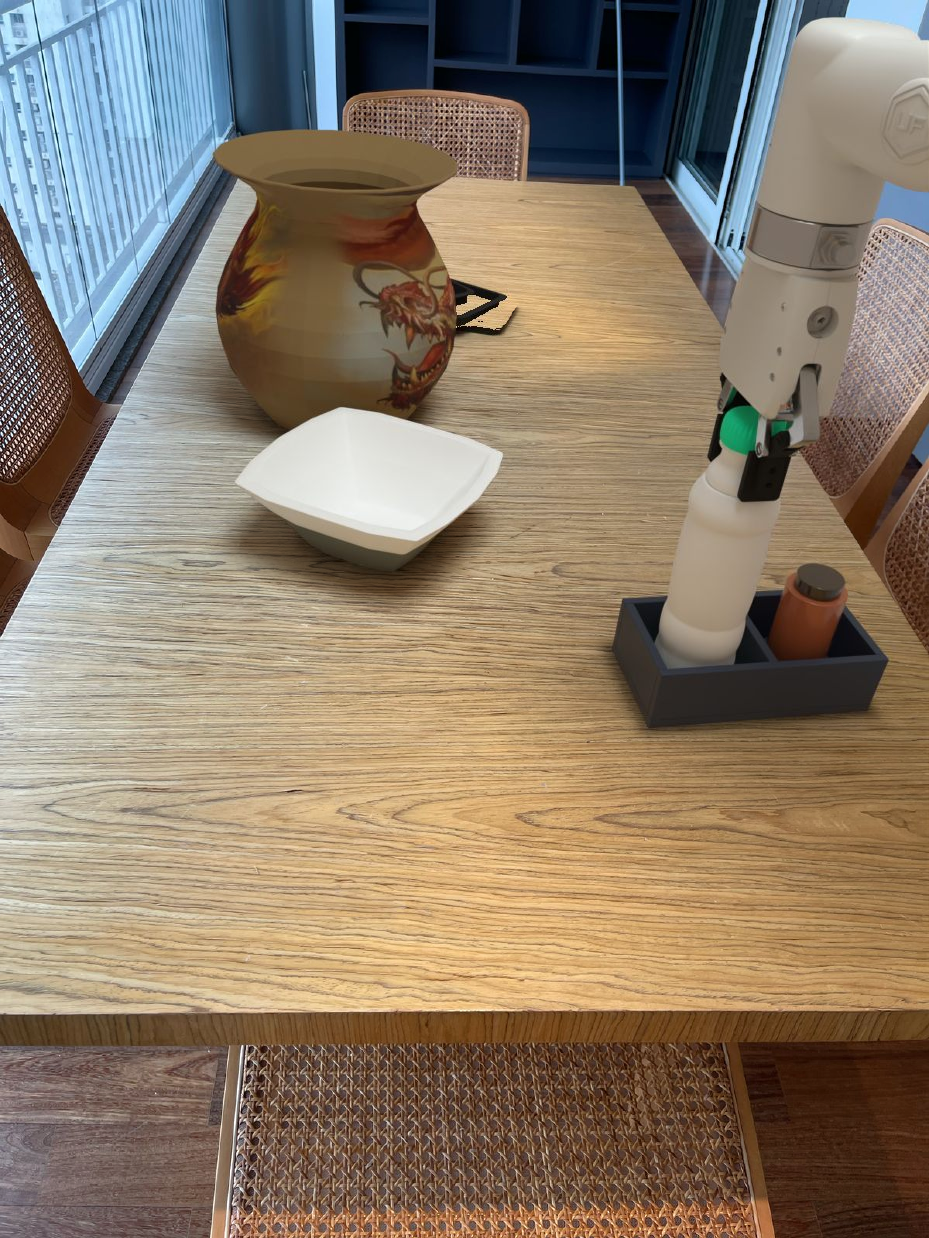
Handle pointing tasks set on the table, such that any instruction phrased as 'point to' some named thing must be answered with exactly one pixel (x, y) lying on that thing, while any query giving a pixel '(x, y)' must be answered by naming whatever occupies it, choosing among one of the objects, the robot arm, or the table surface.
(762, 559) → the water bottle
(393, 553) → the bowl
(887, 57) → the robot arm
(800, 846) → the table surface
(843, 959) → the table surface
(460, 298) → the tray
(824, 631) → the spice jar
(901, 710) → the table surface
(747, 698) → the divided storage box
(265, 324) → the vase
